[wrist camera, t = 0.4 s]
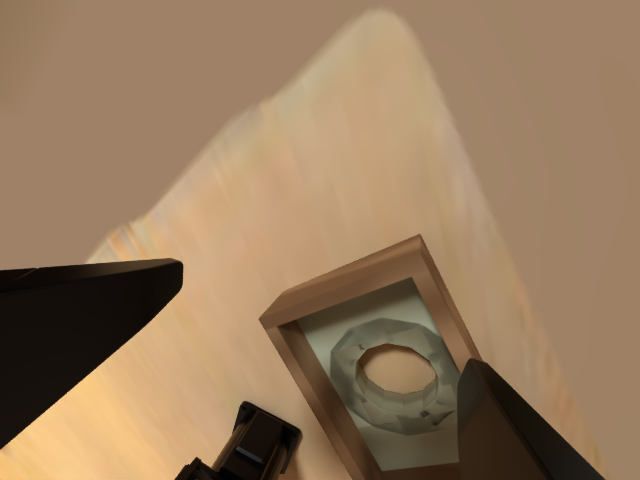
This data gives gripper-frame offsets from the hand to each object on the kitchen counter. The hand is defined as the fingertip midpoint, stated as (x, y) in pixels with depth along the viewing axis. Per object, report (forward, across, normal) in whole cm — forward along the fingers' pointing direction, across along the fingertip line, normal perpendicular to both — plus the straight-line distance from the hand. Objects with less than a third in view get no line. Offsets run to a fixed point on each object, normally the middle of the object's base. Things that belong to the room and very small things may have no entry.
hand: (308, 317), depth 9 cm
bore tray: (+14, -5, +11) cm, 18 cm away
